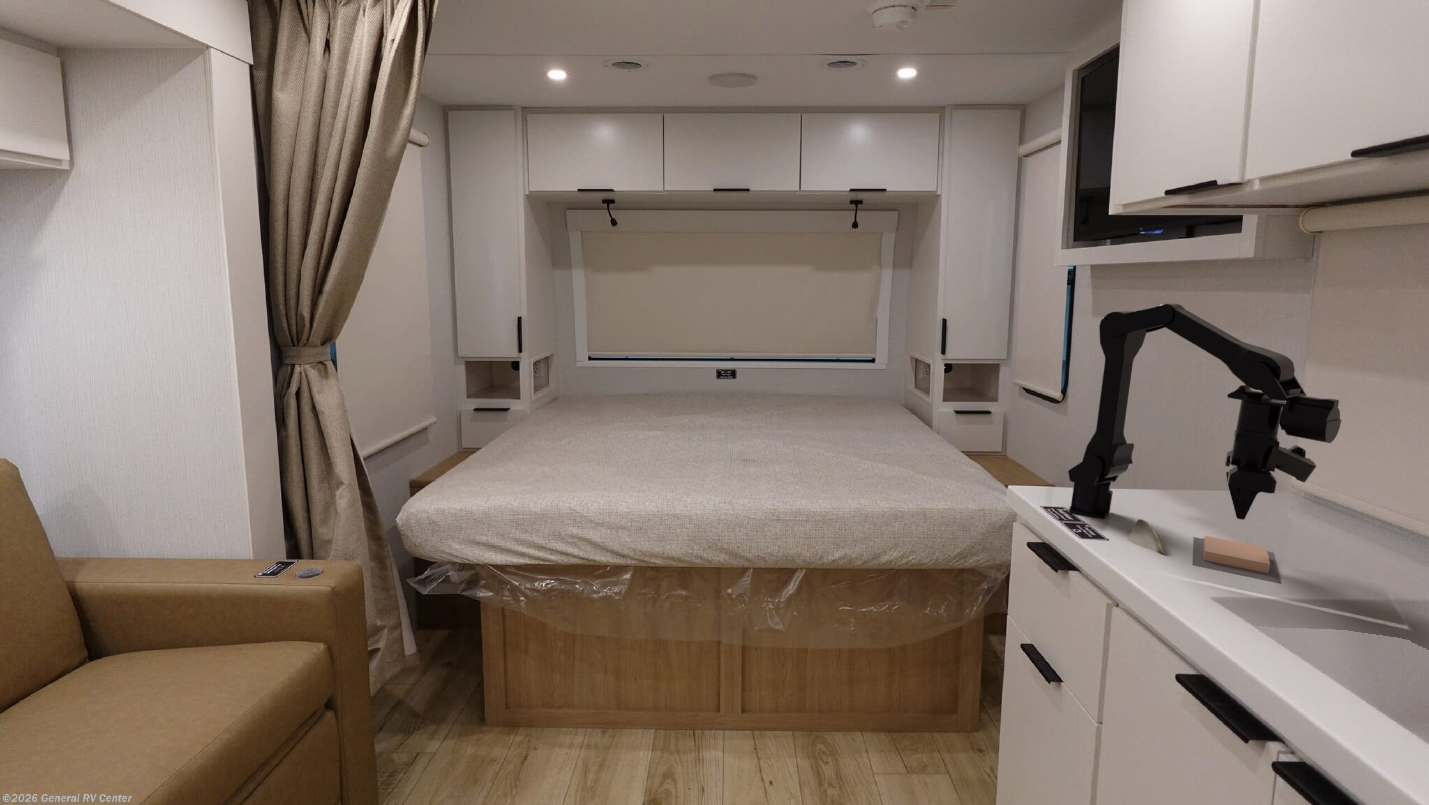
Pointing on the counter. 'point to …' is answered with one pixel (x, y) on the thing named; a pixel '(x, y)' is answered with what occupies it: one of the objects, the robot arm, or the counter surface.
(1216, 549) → the tile
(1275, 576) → the mat
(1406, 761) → the counter surface
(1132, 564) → the counter surface
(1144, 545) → the ceramic fragment
